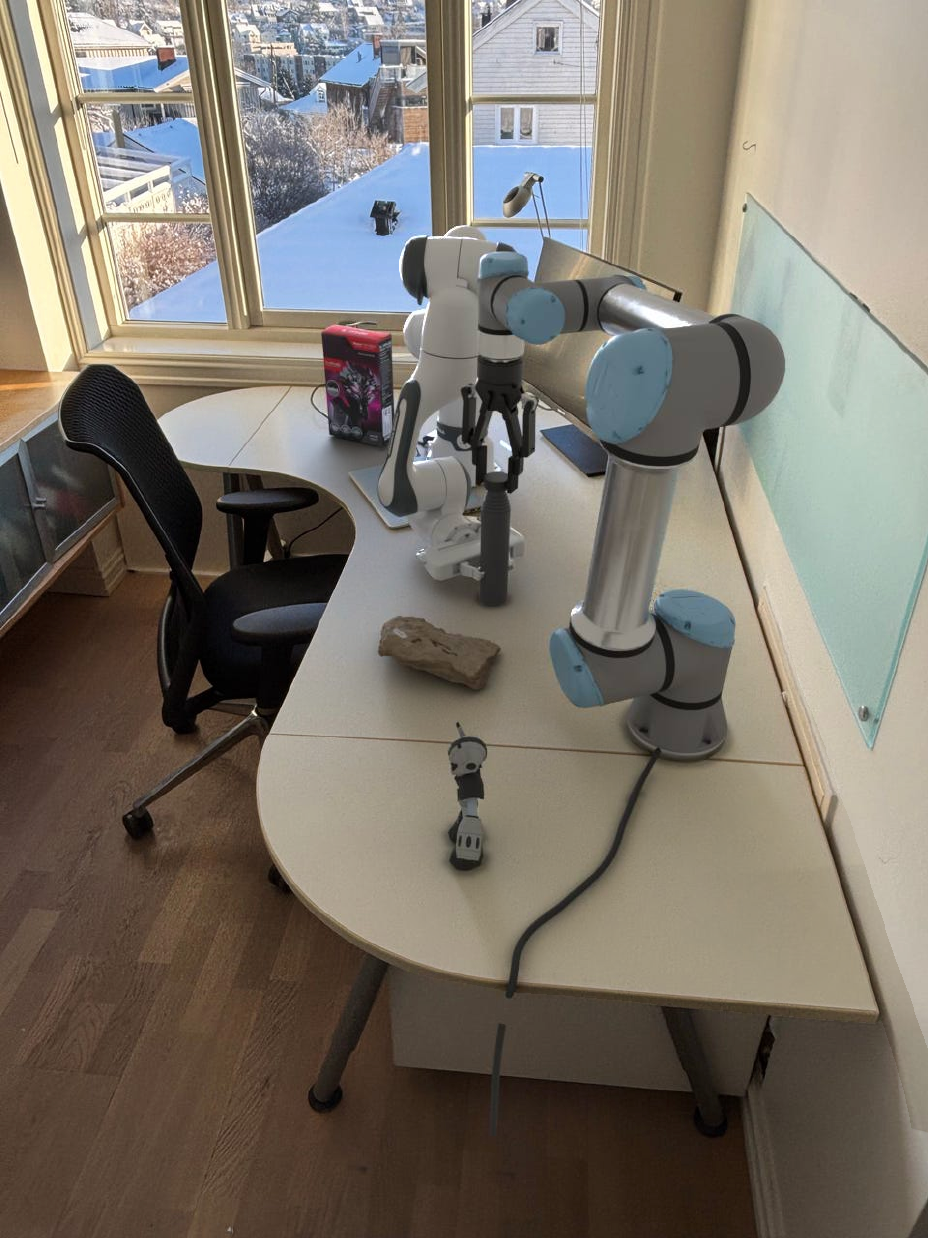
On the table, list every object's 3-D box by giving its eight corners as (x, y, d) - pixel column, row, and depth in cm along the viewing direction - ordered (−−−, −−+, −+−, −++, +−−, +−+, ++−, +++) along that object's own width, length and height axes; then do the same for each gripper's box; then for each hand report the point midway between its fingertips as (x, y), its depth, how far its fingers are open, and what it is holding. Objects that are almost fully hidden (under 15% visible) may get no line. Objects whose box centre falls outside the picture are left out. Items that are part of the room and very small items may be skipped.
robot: (489, 905, 115) (493, 789, 104) (450, 907, 115) (450, 790, 104) (479, 793, 131) (482, 682, 120) (445, 794, 131) (445, 683, 120)
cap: (480, 483, 162) (480, 473, 161) (503, 479, 164) (504, 469, 162) (489, 494, 159) (489, 483, 158) (513, 490, 160) (513, 480, 159)
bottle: (509, 593, 176) (514, 474, 162) (504, 608, 172) (508, 487, 158) (482, 590, 177) (485, 471, 163) (476, 604, 173) (479, 484, 159)
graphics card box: (326, 436, 238) (318, 330, 223) (342, 427, 243) (334, 322, 228) (383, 449, 231) (378, 340, 216) (397, 439, 237) (393, 333, 221)
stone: (354, 663, 151) (360, 631, 149) (385, 632, 165) (392, 602, 162) (474, 706, 148) (483, 673, 145) (496, 671, 161) (504, 640, 159)
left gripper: (411, 539, 173) (448, 571, 164) (502, 513, 182) (542, 542, 173) (411, 567, 177) (448, 601, 167) (501, 541, 186) (540, 571, 176)
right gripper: (563, 358, 147) (553, 490, 160) (462, 339, 155) (461, 467, 168) (542, 371, 142) (534, 507, 155) (439, 351, 149) (440, 482, 162)
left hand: (497, 571), depth 170 cm, fingers closed on bottle, 5 cm apart
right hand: (496, 486), depth 161 cm, fingers open, 6 cm apart
